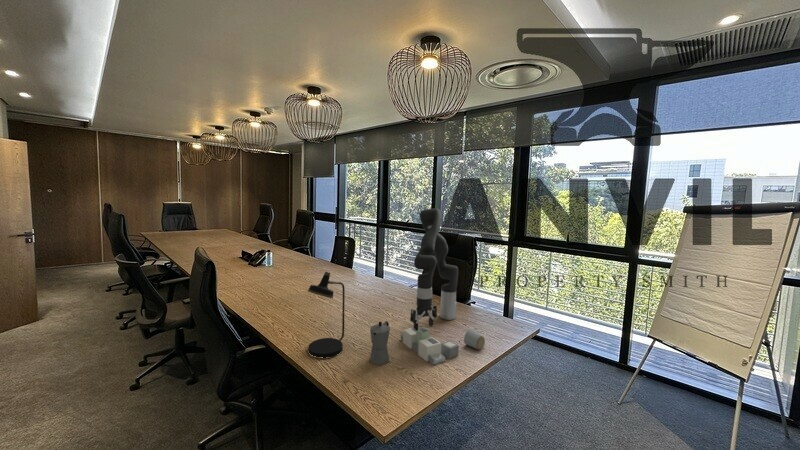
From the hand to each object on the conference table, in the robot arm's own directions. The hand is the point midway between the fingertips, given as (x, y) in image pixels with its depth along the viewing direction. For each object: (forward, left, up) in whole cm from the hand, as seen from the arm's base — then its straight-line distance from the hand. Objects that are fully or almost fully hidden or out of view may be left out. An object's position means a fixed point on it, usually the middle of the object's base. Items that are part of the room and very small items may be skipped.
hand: (423, 328), depth 153 cm
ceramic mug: (-26, +9, -11) cm, 30 cm away
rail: (+1, 0, -11) cm, 11 cm away
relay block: (-9, +10, -11) cm, 17 cm away
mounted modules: (+1, 0, -11) cm, 11 cm away
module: (0, 0, -9) cm, 9 cm away
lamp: (+40, -22, -11) cm, 47 cm away
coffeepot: (+22, -2, -11) cm, 25 cm away
